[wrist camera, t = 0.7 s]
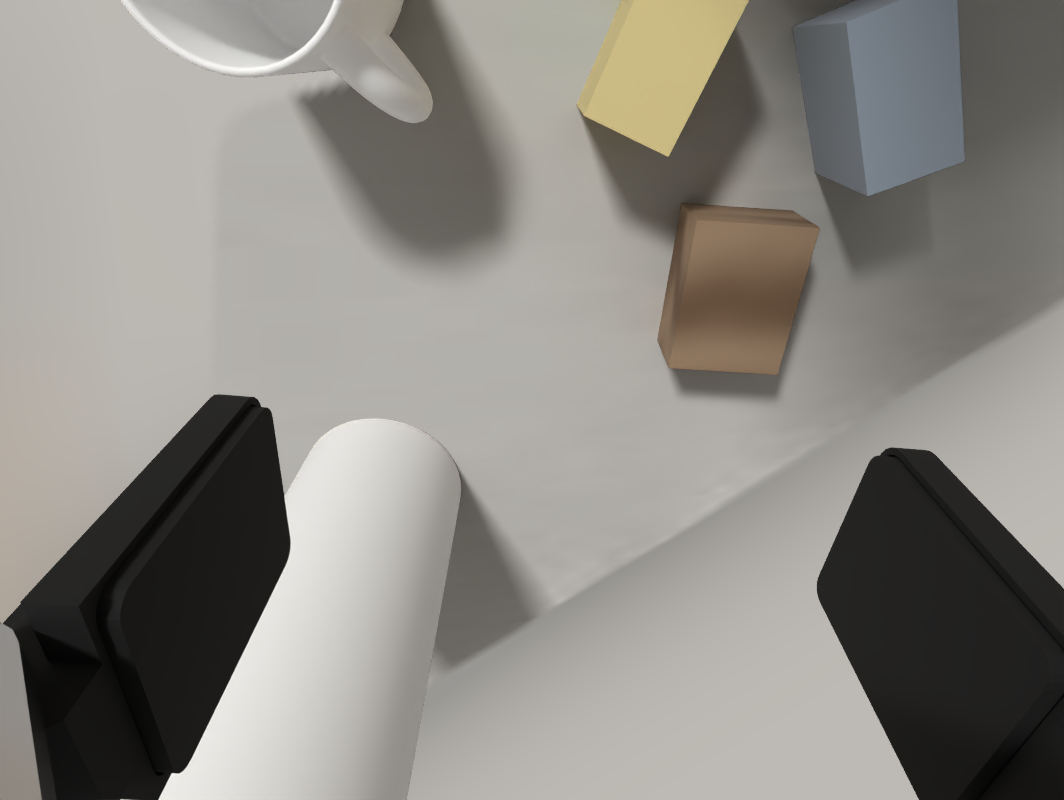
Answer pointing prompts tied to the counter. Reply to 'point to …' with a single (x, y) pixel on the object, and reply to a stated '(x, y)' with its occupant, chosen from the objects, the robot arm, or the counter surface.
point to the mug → (294, 43)
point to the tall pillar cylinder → (340, 629)
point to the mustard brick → (657, 66)
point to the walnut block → (734, 287)
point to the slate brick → (882, 91)
